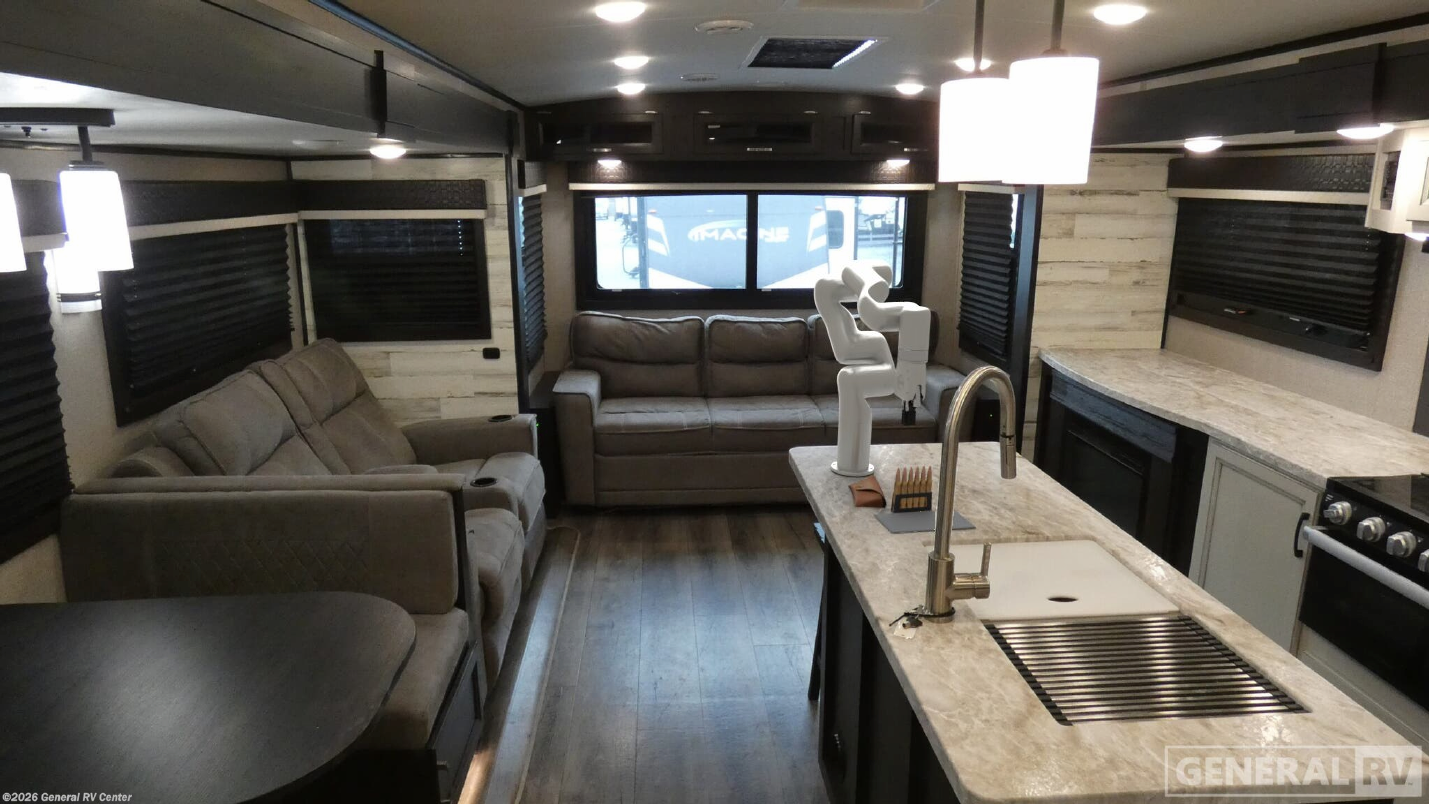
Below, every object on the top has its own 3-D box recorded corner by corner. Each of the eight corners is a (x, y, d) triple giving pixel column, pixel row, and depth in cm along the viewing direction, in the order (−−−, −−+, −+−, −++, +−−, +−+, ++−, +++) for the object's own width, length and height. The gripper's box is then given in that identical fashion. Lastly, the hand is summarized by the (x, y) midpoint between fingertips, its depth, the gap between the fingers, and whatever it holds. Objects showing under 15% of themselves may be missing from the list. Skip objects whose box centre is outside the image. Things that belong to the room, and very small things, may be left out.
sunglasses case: (845, 484, 251) (859, 465, 250) (866, 497, 252) (879, 478, 250) (854, 507, 234) (869, 486, 232) (876, 520, 234) (891, 500, 233)
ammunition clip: (928, 508, 234) (931, 464, 231) (931, 510, 232) (935, 466, 230) (890, 511, 232) (893, 466, 229) (893, 513, 230) (896, 469, 227)
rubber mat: (873, 515, 228) (873, 514, 228) (954, 511, 232) (954, 509, 232) (891, 533, 217) (891, 532, 217) (975, 528, 221) (975, 526, 221)
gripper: (887, 350, 234) (883, 418, 239) (910, 361, 220) (905, 433, 225) (914, 349, 236) (910, 417, 240) (939, 360, 222) (933, 431, 226)
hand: (908, 424), depth 232 cm, fingers closed
